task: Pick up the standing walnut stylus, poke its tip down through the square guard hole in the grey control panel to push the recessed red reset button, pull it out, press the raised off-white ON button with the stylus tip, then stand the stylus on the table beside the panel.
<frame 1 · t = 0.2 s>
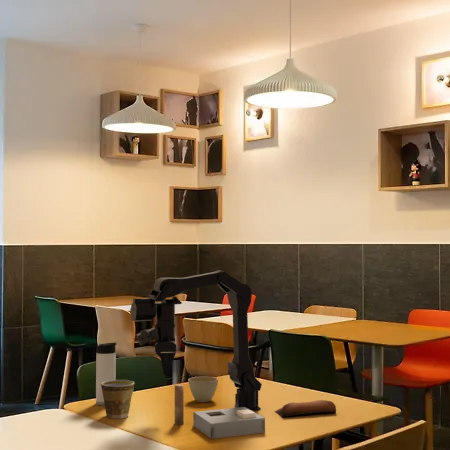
hand: (165, 371, 203), 14 cm above the table, fingers open, 9 cm apart
on button: (245, 415, 189), point 4 cm above the table, slide at 0.0 cm
travel mug: (106, 404, 221), on the table
reset button: (215, 420, 192), point 2 cm above the table, slide at 0.0 cm
stylus: (179, 423, 196), on the table
flower pot: (203, 401, 226), on the table
sunglasses case: (304, 415, 209), on the table
panel: (228, 429, 190), on the table
ceramic cup: (114, 415, 206), on the table
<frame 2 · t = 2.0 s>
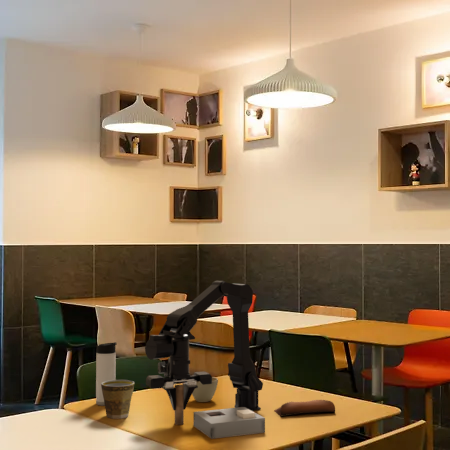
hand: (179, 409, 197), 4 cm above the table, fingers closed on stylus, 3 cm apart
stylus: (179, 423, 196), on the table, touching gripper
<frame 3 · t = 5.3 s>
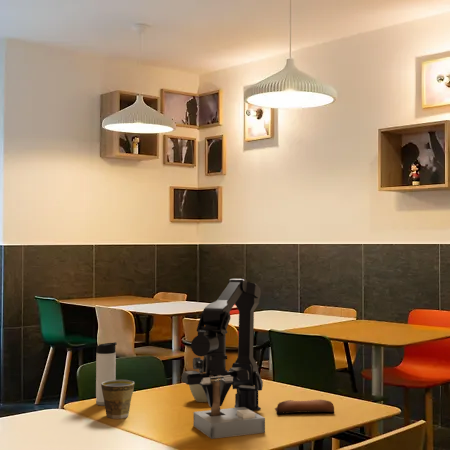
hand: (215, 406, 192), 6 cm above the table, fingers closed on stylus, 3 cm apart
reset button: (215, 423, 192), point 1 cm above the table, slide at 0.9 cm, touching stylus
stylus: (215, 420, 192), point 2 cm above the table, touching gripper, reset button
sunglasses case: (303, 413, 211), on the table
everything else where it was.
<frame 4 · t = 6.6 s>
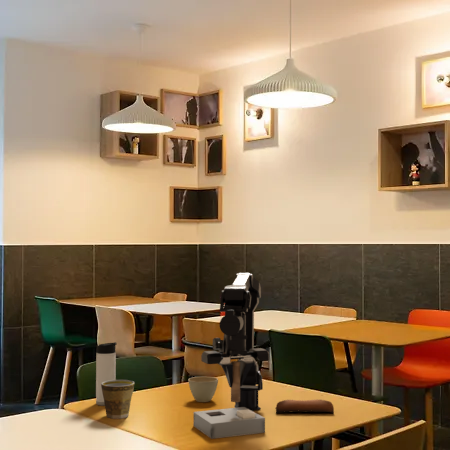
hand: (235, 386, 190), 12 cm above the table, fingers closed on stylus, 3 cm apart
reset button: (215, 423, 192), point 1 cm above the table, slide at 0.9 cm
stylus: (235, 401, 190), point 8 cm above the table, touching gripper
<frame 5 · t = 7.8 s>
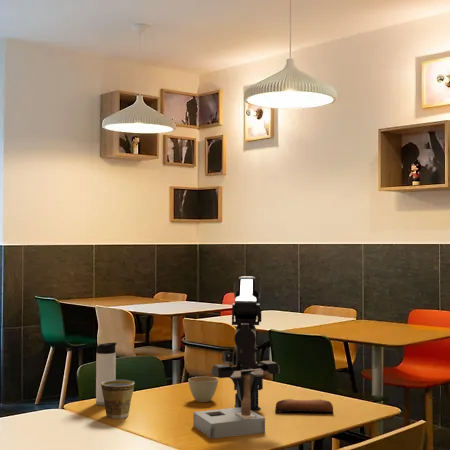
hand: (245, 400, 190), 8 cm above the table, fingers closed on stylus, 3 cm apart
on button: (245, 418, 189), point 3 cm above the table, slide at 0.8 cm, touching stylus
stylus: (245, 414, 189), point 4 cm above the table, touching gripper, on button
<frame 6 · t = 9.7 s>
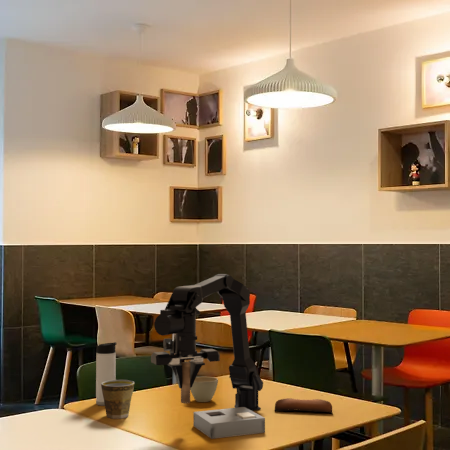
hand: (185, 387, 189), 12 cm above the table, fingers closed on stylus, 3 cm apart
on button: (245, 418, 189), point 3 cm above the table, slide at 0.8 cm
stylus: (185, 402, 189), point 8 cm above the table, touching gripper
when the fingers open (5 cm above the table, at t = 11.1 s): stylus stays where it is, on the table.
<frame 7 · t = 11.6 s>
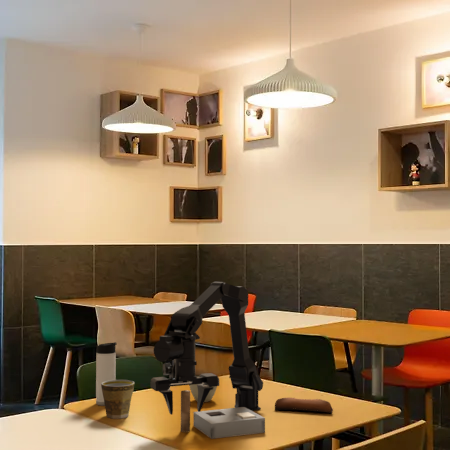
hand: (185, 412, 189), 5 cm above the table, fingers open, 8 cm apart
stylus: (185, 431, 189), on the table
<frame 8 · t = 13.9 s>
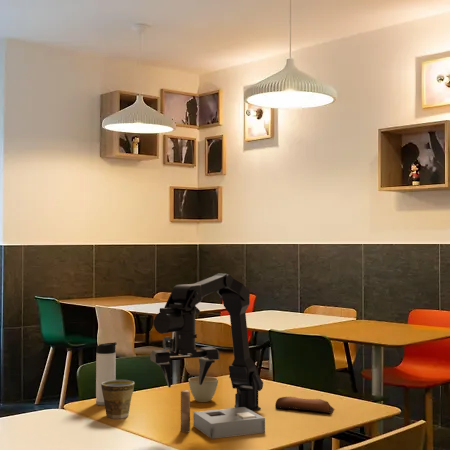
hand: (185, 385, 189), 12 cm above the table, fingers open, 9 cm apart
at the end: reset button slide at 0.9 cm; on button slide at 0.8 cm; stylus inside the target area (0.1 cm from its centre), on the table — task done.
